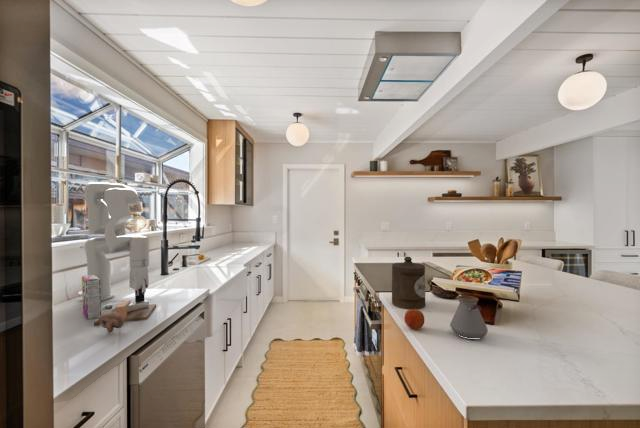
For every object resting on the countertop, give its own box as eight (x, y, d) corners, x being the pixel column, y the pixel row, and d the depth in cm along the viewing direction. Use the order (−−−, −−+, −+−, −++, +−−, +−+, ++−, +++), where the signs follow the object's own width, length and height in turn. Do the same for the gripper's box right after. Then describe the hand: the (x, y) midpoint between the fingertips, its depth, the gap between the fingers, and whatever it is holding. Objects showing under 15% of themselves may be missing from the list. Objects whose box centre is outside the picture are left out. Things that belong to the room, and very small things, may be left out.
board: (94, 325, 113) (94, 322, 113) (110, 311, 130) (110, 308, 130) (146, 319, 118) (146, 316, 118) (156, 306, 135) (156, 304, 135)
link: (104, 318, 116) (104, 308, 116) (99, 316, 119) (99, 306, 119) (149, 306, 130) (149, 297, 130) (144, 305, 133) (144, 296, 133)
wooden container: (425, 310, 125) (425, 259, 125) (390, 307, 129) (389, 258, 129) (425, 301, 139) (424, 255, 139) (393, 298, 143) (392, 254, 143)
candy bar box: (81, 314, 126) (81, 276, 126) (96, 311, 130) (95, 274, 130) (86, 320, 119) (85, 280, 119) (101, 316, 123) (101, 278, 123)
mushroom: (95, 335, 103) (94, 312, 103) (112, 328, 109) (111, 307, 109) (110, 338, 101) (109, 315, 101) (126, 331, 107) (126, 309, 107)
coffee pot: (448, 327, 107) (448, 286, 107) (483, 330, 103) (483, 288, 103) (455, 354, 86) (454, 303, 86) (499, 359, 83) (499, 307, 83)
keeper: (116, 319, 116) (115, 307, 116) (122, 312, 124) (122, 301, 124) (124, 318, 117) (124, 306, 117) (131, 311, 125) (130, 300, 125)
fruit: (424, 333, 101) (424, 310, 101) (403, 331, 104) (403, 308, 104) (424, 326, 108) (424, 304, 108) (405, 324, 110) (405, 303, 110)
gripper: (124, 262, 134) (124, 302, 134) (136, 266, 125) (136, 309, 125) (142, 260, 140) (142, 298, 140) (155, 263, 130) (155, 304, 130)
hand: (139, 303), depth 132 cm, fingers closed
